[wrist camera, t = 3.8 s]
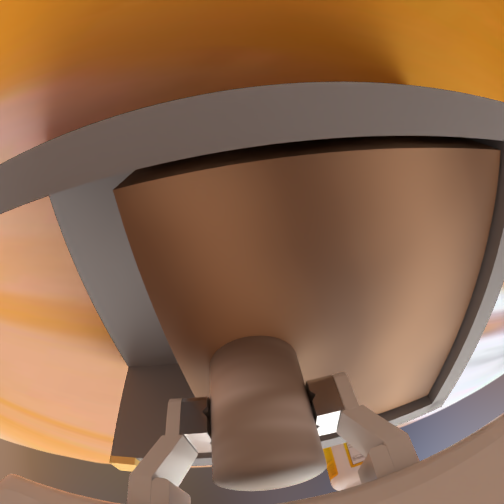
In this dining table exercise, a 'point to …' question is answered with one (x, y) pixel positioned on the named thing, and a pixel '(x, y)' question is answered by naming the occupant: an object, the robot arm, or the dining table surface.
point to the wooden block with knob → (309, 280)
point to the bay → (218, 140)
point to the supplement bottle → (343, 465)
